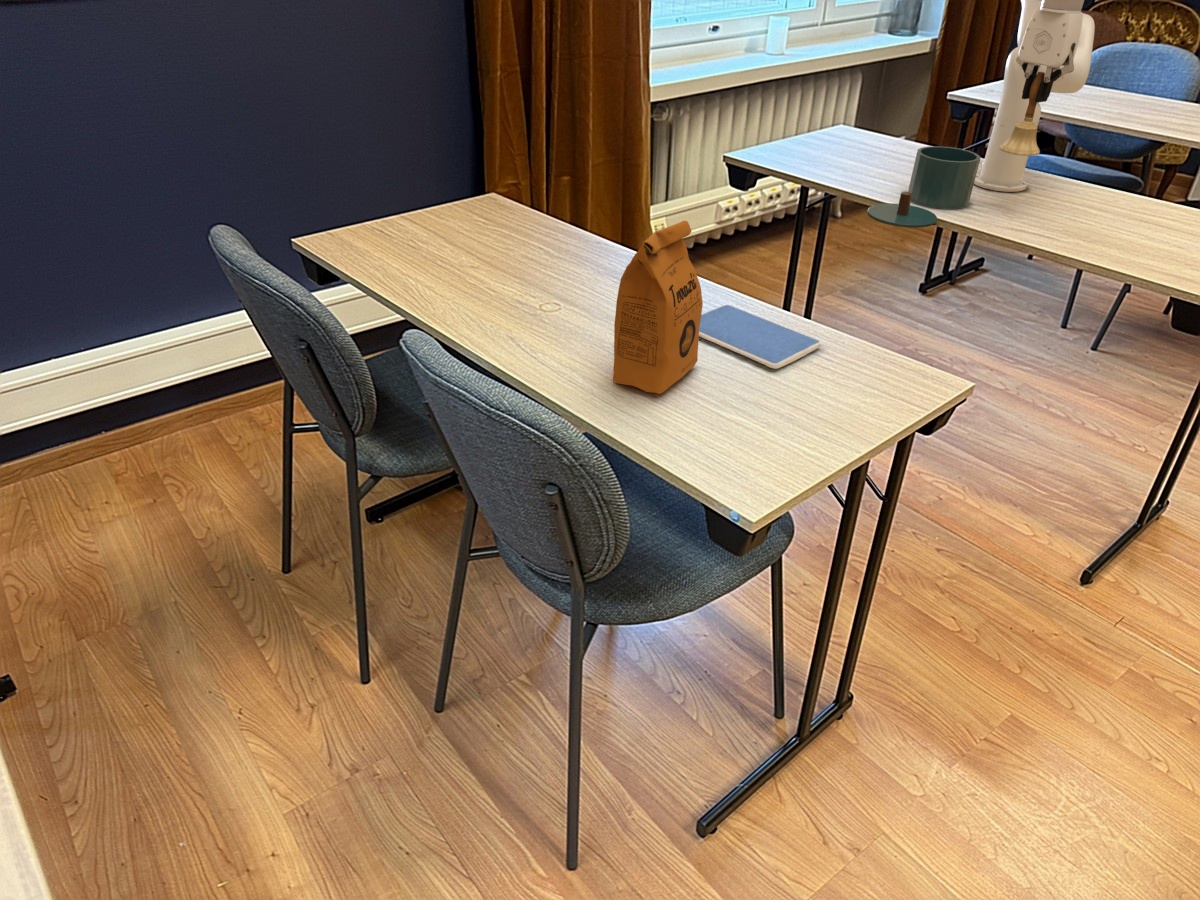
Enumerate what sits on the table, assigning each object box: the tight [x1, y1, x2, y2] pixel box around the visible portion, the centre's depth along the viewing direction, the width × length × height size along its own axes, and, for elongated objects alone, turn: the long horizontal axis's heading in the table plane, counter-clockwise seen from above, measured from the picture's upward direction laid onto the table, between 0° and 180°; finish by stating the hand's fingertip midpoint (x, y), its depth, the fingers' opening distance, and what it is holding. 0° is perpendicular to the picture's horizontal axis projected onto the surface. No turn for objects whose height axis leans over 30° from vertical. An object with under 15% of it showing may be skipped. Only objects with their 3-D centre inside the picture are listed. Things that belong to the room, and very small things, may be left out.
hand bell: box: [999, 72, 1045, 157], centre depth 183 cm, size 8×8×16 cm
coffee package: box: [612, 220, 704, 394], centre depth 119 cm, size 10×12×22 cm
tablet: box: [699, 304, 822, 369], centre depth 135 cm, size 19×13×1 cm, turn 44°
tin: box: [907, 145, 981, 210], centre depth 198 cm, size 14×14×10 cm
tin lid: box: [866, 191, 938, 229], centre depth 186 cm, size 15×15×6 cm
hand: (1034, 99), depth 182 cm, fingers closed on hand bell, 2 cm apart
